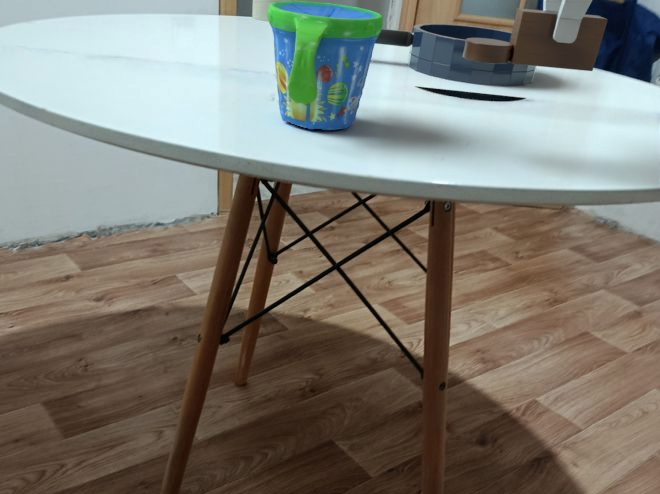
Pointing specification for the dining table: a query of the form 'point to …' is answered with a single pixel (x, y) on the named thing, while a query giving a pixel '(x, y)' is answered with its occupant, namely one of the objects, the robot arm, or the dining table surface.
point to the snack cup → (321, 60)
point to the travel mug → (263, 8)
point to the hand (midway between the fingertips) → (555, 38)
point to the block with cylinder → (540, 43)
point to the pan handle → (395, 38)
